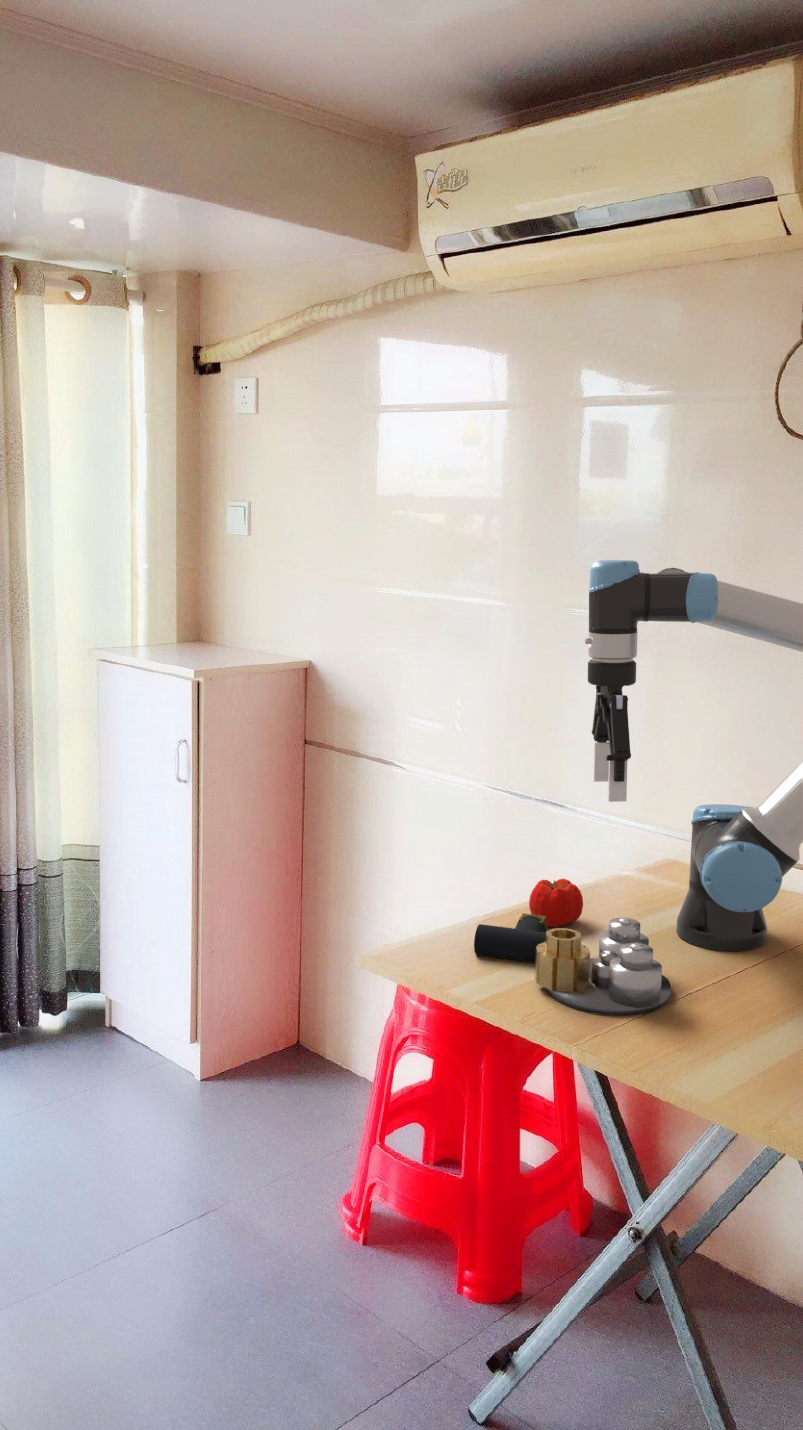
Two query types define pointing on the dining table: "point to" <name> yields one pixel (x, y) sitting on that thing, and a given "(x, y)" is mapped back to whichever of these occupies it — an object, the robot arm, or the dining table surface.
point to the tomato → (556, 902)
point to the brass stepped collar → (562, 961)
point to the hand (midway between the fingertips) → (609, 791)
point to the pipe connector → (512, 939)
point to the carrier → (621, 975)
